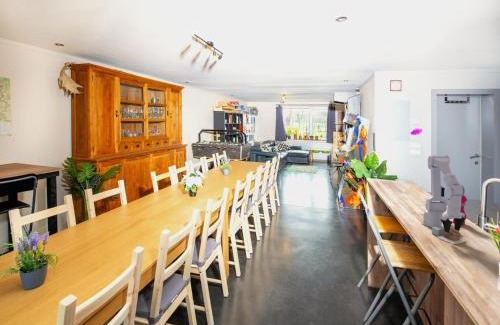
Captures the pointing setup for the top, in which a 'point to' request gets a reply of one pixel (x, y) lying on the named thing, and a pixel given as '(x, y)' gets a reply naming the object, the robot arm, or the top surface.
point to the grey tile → (451, 240)
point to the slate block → (438, 231)
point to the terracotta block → (453, 228)
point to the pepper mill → (463, 200)
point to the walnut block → (452, 235)
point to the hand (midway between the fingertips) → (451, 231)
